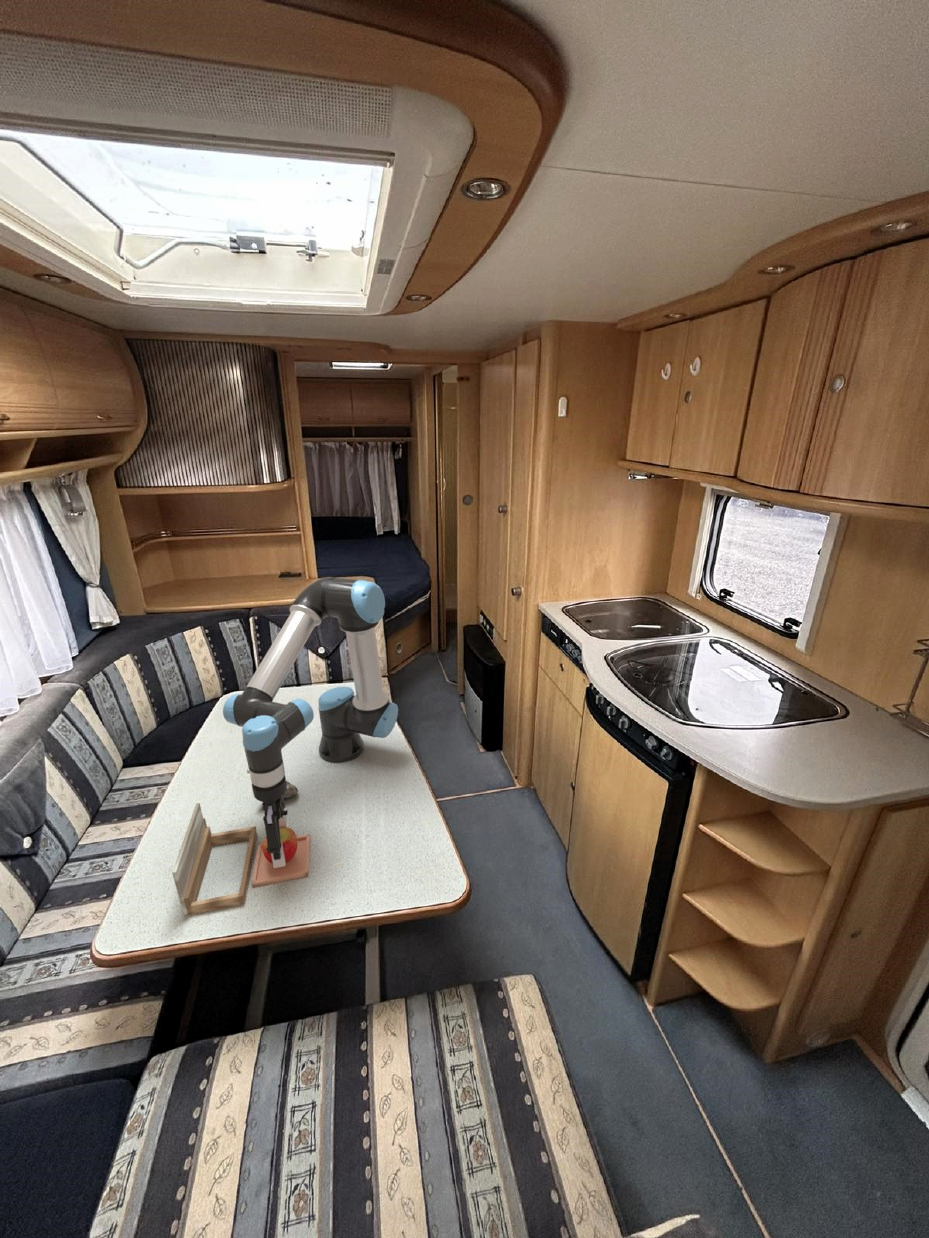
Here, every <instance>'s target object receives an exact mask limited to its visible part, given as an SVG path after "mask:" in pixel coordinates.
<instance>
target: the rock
mask: <svg viewBox="0 0 929 1238" xmlns="http://www.w3.org/2000/svg"><path fill="white" fill-rule="evenodd" d="M286 784H287V789H286V791H285V793H284V794H283V799H287V798H288V799H289V798H291V797H292V796H295V795H297V794H298V793H299V789H298V787H296V786H295V785H294V784H293V783H291V782H289V781H288V780H286Z"/></svg>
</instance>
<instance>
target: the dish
mask: <svg viewBox="0 0 929 1238" xmlns="http://www.w3.org/2000/svg"><path fill="white" fill-rule="evenodd" d="M296 837H297V850H296V853H295V855H294V856H293V858H292V859H291V860H290V861H288V862H287V863H286V866H283V867H278V868H274V866H273V864H272V863H270V862H269V861H268V860H267V859H266V858H265V856H264V854H263V849H262V845H263V842H258V844H257V847H256V848H257V849H256V855H255V860H254V868H253V874H252V877H251V878H252V879H251V888H254V887H259V886H265V885H266V886H267V885H270V884H277V883H281V882H282V883H283V882H287V881H291V880H292V881H293V880H299V879H302V878H303V879H304V878H308V877H309V875H310V874H309V873H310V869H309V868H310V854H311V853H310V852H311V851H310V850H311V835H310V833H308V834H307V833H306V834H301V835H296Z"/></svg>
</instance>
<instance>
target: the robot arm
mask: <svg viewBox="0 0 929 1238" xmlns="http://www.w3.org/2000/svg"><path fill="white" fill-rule="evenodd" d="M385 608H386V600H385V595H384V591H383V590H382V588H381V587H380V586H379V585H378V584H376V583H375V582H373V581H369V580H368V581H367V580H366V579H352V578H350V579H349V578H342V577H336V576H335V577H334V576H326V577H321V578H320V579H317V580H315V581H313V582H311V583H310V584H309V585H308V586H307V587H305V588H304V589H303V590H302V591H301V592H300V593H299V594H298V595H297V596H296V598H295V599H294V600H293V602H292V603H291V606H289V612H290V613H289V616H288V617H287V619H286V621H285V622H284V624H283V625H282V628H281V629H280V631H279V632H278V634H277V635H276V637H275V639H274V641H273V642H272V644H271V646H270V647H269V649H268V650H267V652H266V654H265V655H264V657H263V659H262V661H261V662H260V664H259V665H258V667H257V668H256V670H255V672H254V673H253V676H252V677H251V678H250V680H249V682H248V684H247V685H246V686H245V689H244V690H243V692H242V693H238V694H237V693H236V694H233V695H231V696H230V697H228V698H227V699H226V701H225V702H224V704H223V708H222V715H223V718H224V720H225V721H226V722H228V724H229V723H230V724H232V725H236V726H237V727H241V728H242V729H241V734H242V735H241V736H242V745H243V748H244V753H245V757H246V762H247V765H248V766H247V767H248V769H247V770H246V773H247V774H250V775H249V776H250V782H251V789H252V793H253V797H254V799H256V800H257V801H259V802H261V803H262V810H263V813H264V816H263V818H262V820H263V823H264V830H265V838H267V845H268V847H267V848H266V850H267V851H268V853H269V854H270V853H271V856H272V861H273V866H274V868H278V867H283V866H286V862H285V857H284V851H283V845H282V843H281V839H280V827H288V825H287V819H286V816H288V814H289V812H288V810H287V809H285V808H286V804H285V800H284V798H283V794H284V793H285V791H286V789H287V784H286V781H287V779H286V771H285V765H284V760H283V759H284V758H283V754H282V749H283V748H284V747H286V746H287V745H288V744H289V743H290V742H291V741H292V740H293V739H295V738H296V737H297V736H299V734H301V733H302V732H304V731H305V730H306V728H308V726H309V725H310V724H311V723H312V722H313V721H314V716H315V715H314V710H313V707H312V706H311V704H310V703H309V702H308V701H307V700H304V699H302V698H296V699H292V700H291V701H289V702H288V703H287V704H285V703H281V702H276V701H274V699H275V697H276V695H277V693H279V690H280V688H281V686H282V685H283V683H284V681H285V680H286V678H287V676H288V675H289V673H290V671H291V669H292V667H293V665H294V664H295V663H296V660H297V658H298V657H299V655H300V653H301V651H302V649H303V648H304V646H305V644H306V643H307V641H308V639H309V637H310V635H311V633H312V632H313V630H314V628H315V627H317V626H320V625H321V623H322V622H323V620H324V619H325V618H328V617H330V618H336V619H337V620H338V625H339V628H340V630H341V631H342V632H345V635H346V641H347V648H348V654H349V659H350V665H351V672H352V677H353V682H354V683H353V684H354V689H353V688H351V687H350V686H337V687H333V688H330V689H328V690H326V691H324V692H323V693H321V695H320V696H319V698H318V713H319V720H320V726H321V728H320V729H321V738H320V742H319V745H318V755H319V757H320V758H321V759H322V760H323V761H325V762H327V763H329V764H343V763H347V762H350V761H351V762H352V761H353V760H356V759H357V758H358V757H360V756H361V755H362V754H363V752H364V749H365V747H364V745H365V743H364V740H363V738H362V736H361V735H365V736H368V737H373V738H380V739H385V738H387V737H388V736H389V735H391V733H392V731H393V729H394V728H395V725H396V722H397V719H398V715H399V707H398V704H396V703H395V702H391V701H390V695H389V693H388V692H387V691H386V690H385V689H384V685H383V679H382V677H383V676H382V671H381V663H380V657H379V648H378V642H377V641H378V640H377V634H376V627H378V625H379V624H380V621H381V620H382V618H383V616H384V614H385ZM354 690H355V692H354Z"/></svg>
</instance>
